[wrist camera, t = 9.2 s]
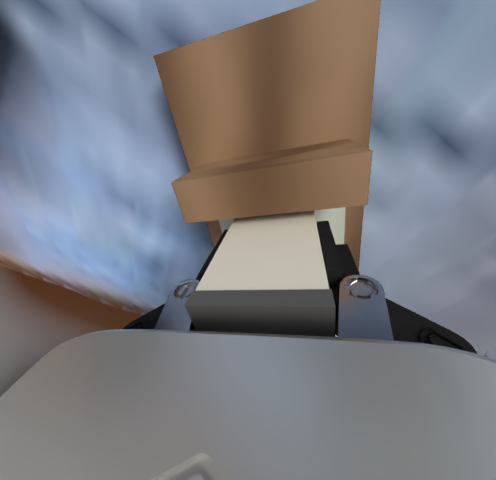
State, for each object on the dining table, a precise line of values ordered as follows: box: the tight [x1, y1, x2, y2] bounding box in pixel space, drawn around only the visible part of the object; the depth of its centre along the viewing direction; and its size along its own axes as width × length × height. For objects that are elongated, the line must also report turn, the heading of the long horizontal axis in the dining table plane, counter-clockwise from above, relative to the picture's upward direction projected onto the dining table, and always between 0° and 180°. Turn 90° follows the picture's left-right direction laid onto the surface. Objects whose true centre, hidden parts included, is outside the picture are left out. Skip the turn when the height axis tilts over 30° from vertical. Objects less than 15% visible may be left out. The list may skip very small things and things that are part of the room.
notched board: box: [154, 0, 381, 269], centre depth 13 cm, size 10×20×6 cm, turn 11°
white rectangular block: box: [184, 210, 335, 337], centre depth 9 cm, size 4×4×7 cm
